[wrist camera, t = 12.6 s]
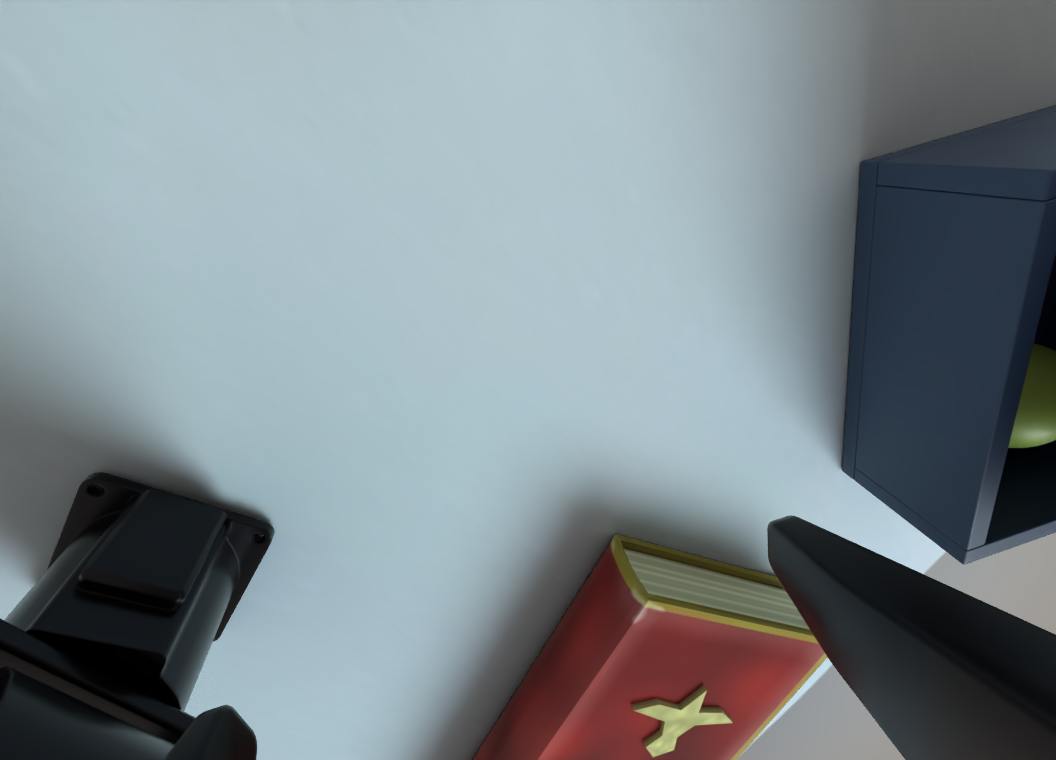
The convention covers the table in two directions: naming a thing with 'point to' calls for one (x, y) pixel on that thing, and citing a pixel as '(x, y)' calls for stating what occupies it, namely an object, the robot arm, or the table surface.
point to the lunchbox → (955, 333)
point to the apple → (1037, 401)
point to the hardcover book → (659, 663)
